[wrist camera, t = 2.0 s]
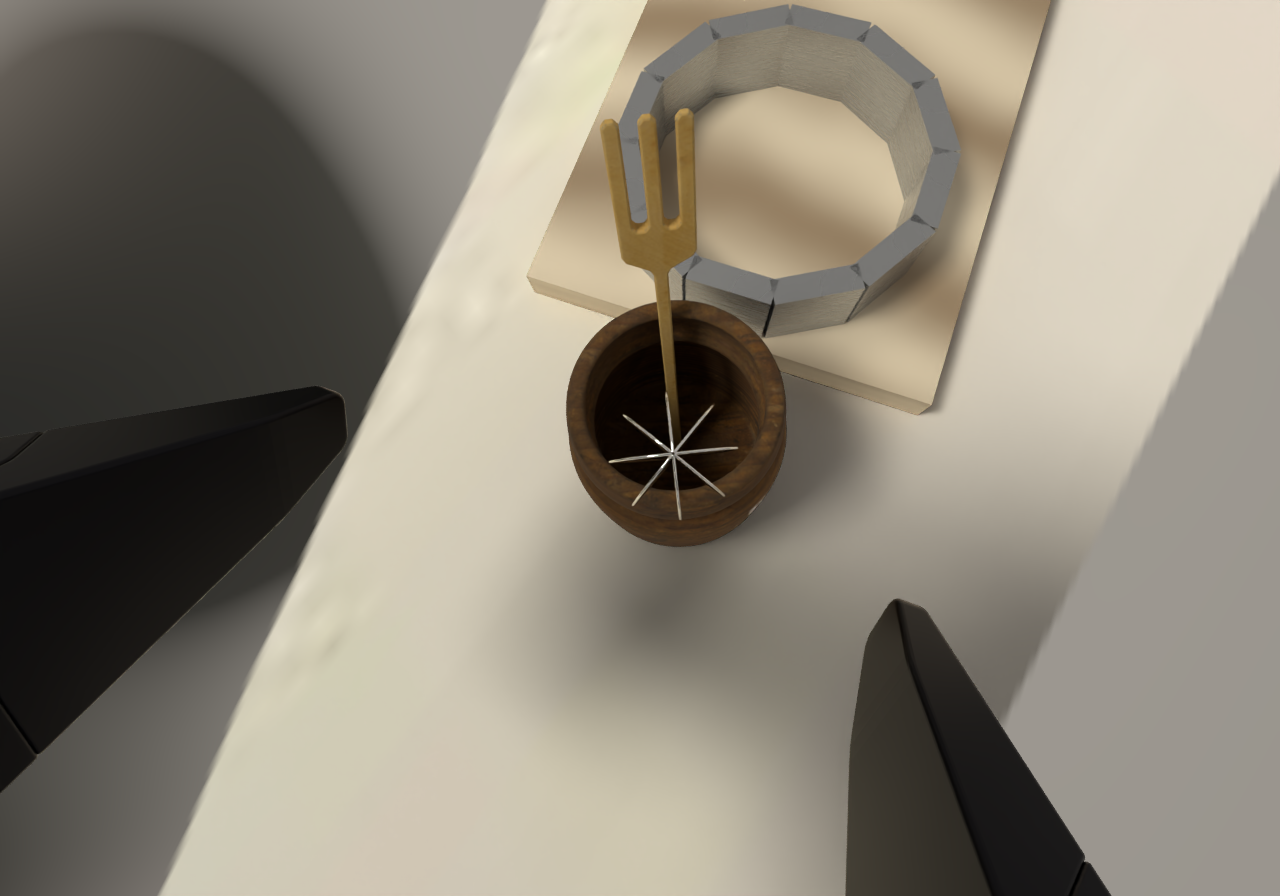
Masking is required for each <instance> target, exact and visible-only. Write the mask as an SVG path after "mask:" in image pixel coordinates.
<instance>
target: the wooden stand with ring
mask: <svg viewBox="0 0 1280 896" xmlns="http://www.w3.org/2000/svg"><path fill="white" fill-rule="evenodd" d="M1050 2H1051V0H648V1H647V4H646V6H645V8H644V10H643V13H642V15H641V17H640V20H639V22H638V24H637V26H636V29H635V31H634V33H633V35H632V38H631V40H630V42H629V44H628V47H627V49H626V51H625V54H624V56H623V58H622V60H621V63H620V65H619V67H618V69H617V72H616V74H615V76H614V78H613V81H612V83H611V85H610V87H609V90H608V92H607V94H606V97H605V99H604V101H603V103H602V106H601V108H600V110H599V112H598V115H597V117H596V119H595V121H594V124H593V126H592V128H591V131H590V133H589V135H588V137H587V140H586V142H585V144H584V146H583V149H582V151H581V153H580V155H579V158H578V160H577V162H576V164H575V167H574V169H573V171H572V174H571V176H570V178H569V180H568V183H567V185H566V187H565V189H564V192H563V194H562V196H561V198H560V201H559V203H558V205H557V208H556V210H555V212H554V214H553V217H552V219H551V221H550V223H549V226H548V228H547V230H546V232H545V235H544V237H543V239H542V241H541V244H540V246H539V248H538V251H537V253H536V255H535V257H534V260H533V262H532V264H531V266H530V269H529V271H528V273H527V275H526V276H527V278H528V280H529V282H530V284H531V286H532V288H533V290H534V292H537V293H540V294H543V295H546V296H549V297H552V298H555V299H558V300H561V301H565V302H568V303H571V304H574V305H577V306H580V307H583V308H586V309H589V310H593V311H596V312H599V313H602V314H605V315H608V316H611V317H614V318H616V317H618V316H620V315H621V314H623V313H625V312H627V311H629V310H632V309H634V308H636V307H639V306H642V305H645V304H649V303H653V302H657V300H656V291H655V282H654V275H653V274H652V273H651V272H650V271H648V270H645V269H641V268H638V267H635V266H631V265H628V264H626V263H625V262H624V261H623V260H622V259H621V253H620V247H619V241H618V235H617V229H616V223H615V217H614V211H613V205H612V199H611V193H610V187H609V181H608V175H607V169H606V163H605V157H604V151H603V145H602V139H601V133H600V125H601V123H602V122H603V120H605V119H613V120H614V121H616V122H617V123H618V126H619V133H620V140H621V147H622V154H623V162H624V169H625V176H626V183H627V190H628V197H629V205H630V212H631V219H632V221H634V222H635V223H642V222H645V220H646V219H647V208H646V199H645V190H644V181H643V172H642V163H641V153H640V144H639V135H638V126H637V121H638V119H639V118H640V116H641V115H642V114H648V113H649V114H651V115H652V116H653V117H655V119H656V126H657V138H658V151H659V163H660V175H661V188H662V200H663V213H664V217H665V218H667V219H673V218H676V217H677V216H678V215H679V195H678V174H677V153H676V132H675V115H676V114H677V112H678V111H679V110H680V109H684V108H688V109H690V110H691V111H692V112H693V114H694V135H695V178H696V221H697V250H696V252H695V254H694V255H693V256H692V257H690V258H688V259H687V260H685V261H683V262H681V263H680V264H678V265H676V266H675V267H673V268H671V270H670V271H669V273H668V276H669V288H670V300H687V301H695V302H700V303H705V304H708V305H712V306H715V307H717V308H720V309H722V310H724V311H726V312H728V313H730V314H732V315H734V316H736V317H737V318H739V319H740V320H741V321H743V322H744V323H745V324H747V325H748V326H749V327H750V328H751V329H752V330H754V331H755V332H756V333H757V335H758V336H759V337H760V338H761V339H762V340H763V342H764V343H765V344H766V345H767V347H768V349H769V350H770V352H771V353H772V355H773V357H774V359H775V361H776V363H777V365H778V368H779V370H780V371H782V372H785V373H788V374H791V375H794V376H798V377H801V378H804V379H807V380H810V381H813V382H816V383H819V384H822V385H826V386H829V387H832V388H835V389H838V390H841V391H844V392H847V393H850V394H853V395H857V396H860V397H863V398H866V399H869V400H872V401H875V402H878V403H881V404H885V405H888V406H891V407H894V408H897V409H900V410H903V411H906V412H909V413H912V414H916V415H919V414H920V413H921V412H923V411H924V410H925V409H927V408H928V407H929V406H931V405H932V402H933V398H934V395H935V392H936V388H937V385H938V382H939V378H940V375H941V371H942V368H943V365H944V361H945V358H946V354H947V351H948V348H949V344H950V341H951V338H952V334H953V331H954V327H955V324H956V321H957V317H958V314H959V310H960V307H961V304H962V300H963V297H964V294H965V290H966V287H967V283H968V280H969V277H970V273H971V270H972V266H973V263H974V260H975V256H976V253H977V249H978V246H979V243H980V239H981V236H982V233H983V229H984V226H985V222H986V219H987V216H988V212H989V209H990V205H991V202H992V199H993V195H994V192H995V189H996V185H997V182H998V178H999V175H1000V172H1001V168H1002V165H1003V161H1004V158H1005V155H1006V151H1007V148H1008V145H1009V141H1010V138H1011V134H1012V131H1013V128H1014V124H1015V121H1016V117H1017V114H1018V111H1019V107H1020V104H1021V101H1022V97H1023V94H1024V90H1025V87H1026V84H1027V80H1028V77H1029V73H1030V70H1031V67H1032V63H1033V60H1034V57H1035V53H1036V50H1037V46H1038V43H1039V40H1040V36H1041V33H1042V29H1043V26H1044V23H1045V19H1046V16H1047V13H1048V9H1049V6H1050Z"/></svg>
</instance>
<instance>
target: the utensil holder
mask: <svg viewBox="0 0 1280 896" xmlns="http://www.w3.org/2000/svg"><path fill="white" fill-rule="evenodd" d="M637 126H638V135H639V144H640V153H641V163H642V172H643V181H644V190H645V199H646V208H647V219H646V220H645V222H642V223H635V222H634V221H632V219H631V212H630V205H629V197H628V190H627V183H626V176H625V169H624V162H623V154H622V147H621V140H620V133H619V126H618V123H617V122H616V121H614V120H613V119H605V120H603V122H602V123H601V125H600V133H601V139H602V145H603V151H604V157H605V163H606V169H607V175H608V181H609V187H610V193H611V199H612V205H613V211H614V217H615V223H616V229H617V235H618V241H619V247H620V253H621V259H622V260H623V261H624V262H625V263H626V264H628V265H631V266H635V267H638V268H641V269H645V270H648V271H650V272H651V273H652V274H653V275H654V282H655V291H656V300H657V302H653V303H649V304H645V305H642V306H639V307H636V308H634V309H632V310H629V311H627V312H625V313H623V314H621V315H620V316H618V317H616V318H615V319H613V320H612V321H611V322H609V323H608V324H607V325H605V326H604V327H603V328H602V329H601V330H600V331H599V332H598V333H597V334H596V335H595V336H594V337H593V338H592V339H591V340H590V342H589V343H588V344H587V345H586V347H585V348H584V350H583V351H582V353H581V355H580V356H579V358H578V360H577V362H576V364H575V367H574V369H573V372H572V375H571V378H570V382H569V386H568V391H567V401H566V416H567V427H568V433H569V444H570V451H571V455H572V459H573V463H574V466H575V469H576V471H577V474H578V476H579V478H580V480H581V482H582V484H583V486H584V488H585V489H586V491H587V492H588V494H589V495H590V497H591V498H592V499H593V501H594V502H595V503H596V504H597V505H598V506H599V508H600V509H601V510H602V511H603V512H604V513H605V514H606V515H607V516H608V517H610V518H611V519H612V520H613V521H614V522H615V523H617V524H618V525H619V526H620V527H622V528H623V529H625V530H626V531H628V532H629V533H631V534H633V535H635V536H636V537H639V538H641V539H643V540H646V541H648V542H651V543H655V544H659V545H664V546H673V547H684V546H693V545H699V544H703V543H706V542H710V541H712V540H715V539H717V538H719V537H721V536H723V535H725V534H727V533H728V532H730V531H732V530H733V529H734V528H736V527H737V526H738V525H740V524H741V523H742V522H743V521H744V520H745V519H746V518H747V517H748V516H749V515H750V514H751V513H752V512H753V511H754V510H755V509H756V508H757V506H758V505H759V504H760V503H761V501H762V500H763V499H764V497H765V496H766V494H767V493H768V492H769V490H770V488H771V486H772V485H773V483H774V481H775V479H776V477H777V474H778V472H779V469H780V467H781V464H782V460H783V456H784V451H785V446H786V431H787V428H786V398H785V391H784V385H783V381H782V376H781V373H780V370H779V368H778V365H777V363H776V361H775V359H774V357H773V355H772V353H771V352H770V350H769V349H768V347H767V345H766V344H765V343H764V342H763V340H762V339H761V338H760V337H759V336H758V335H757V333H756V332H755V331H754V330H752V329H751V328H750V327H749V326H748V325H747V324H745V323H744V322H743V321H741V320H740V319H739V318H737V317H736V316H734V315H732V314H730V313H728V312H726V311H724V310H722V309H720V308H717V307H715V306H712V305H708V304H705V303H700V302H695V301H687V300H670V288H669V276H668V273H669V271H670V270H671V268H673V267H675V266H676V265H678V264H680V263H681V262H683V261H685V260H687V259H688V258H690V257H692V256H693V255H694V254H695V252H696V250H697V221H696V178H695V135H694V114H693V112H692V111H691V110H690V109H688V108H684V109H680V110H679V111H678V112H677V114H676V115H675V132H676V153H677V174H678V195H679V215H678V216H677V217H676V218H673V219H667V218H665V217H664V213H663V200H662V188H661V175H660V163H659V151H658V138H657V126H656V119H655V117H653V116H652V115H651V114H649V113H648V114H642V115H641V116H640V118H639V119H638V121H637Z"/></svg>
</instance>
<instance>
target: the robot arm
mask: <svg viewBox="0 0 1280 896" xmlns="http://www.w3.org/2000/svg"><path fill="white" fill-rule="evenodd" d="M347 436H348V434H347V422H346V411H345V402H344V399H343V397H342V395H340V394H339V393H338V392H335V391H332V390H330V389H327V388H324V387H321V386H311V387H304V388H298V389H292V390H286V391H280V392H274V393H268V394H263V395H257V396H250V397H244V398H238V399H232V400H226V401H220V402H214V403H208V404H202V405H196V406H190V407H184V408H178V409H172V410H166V411H160V412H153V413H147V414H141V415H136V416H129V417H123V418H117V419H111V420H106V421H99V422H93V423H87V424H82V425H75V426H69V427H63V428H58V429H51V430H47V431H45V432H44V433H42V432H39V431H38V432H32V433H26V434H20V435H14V436H8V437H2V438H0V794H1V793H2V792H3V791H4V790H5V789H6V788H7V787H8V786H9V785H10V784H11V783H12V782H13V781H14V780H15V779H16V778H17V777H18V776H19V775H20V774H21V773H22V772H23V771H25V770H26V769H27V767H28V766H30V765H31V764H32V763H33V762H34V760H36V759H37V757H38V755H37V754H41V753H43V752H44V751H45V750H46V748H48V747H49V746H50V745H51V744H52V743H53V742H54V741H55V740H56V739H57V738H58V737H59V736H60V735H61V734H62V733H63V732H64V731H65V730H66V729H67V728H68V727H69V726H70V725H72V724H73V723H74V722H75V721H76V720H77V719H78V718H79V717H80V716H81V715H82V714H83V713H84V712H85V711H86V710H87V709H88V708H89V707H90V706H91V705H92V704H93V703H94V702H95V701H96V700H97V699H98V698H99V697H100V696H101V695H102V694H103V693H104V692H106V691H107V690H108V689H109V688H110V687H111V686H112V685H113V684H114V683H115V682H116V681H117V680H118V679H119V678H120V677H121V676H122V675H123V674H124V673H125V672H126V671H127V670H128V669H129V668H130V667H131V666H132V665H133V664H134V663H136V662H137V661H138V660H139V659H140V658H141V657H142V656H143V655H144V654H145V653H146V652H147V651H148V650H149V649H150V648H151V647H152V646H153V645H154V644H155V643H156V642H157V641H158V640H159V639H160V638H161V637H162V636H163V635H164V634H165V633H166V632H168V631H169V630H170V629H171V627H173V626H174V625H175V624H176V623H177V622H178V621H179V620H180V619H181V618H182V617H183V616H184V615H185V614H186V613H187V612H188V611H189V610H190V609H191V608H192V607H193V606H194V605H195V604H196V603H197V602H198V601H199V600H201V599H202V598H203V597H204V596H205V595H206V594H207V593H208V592H209V591H210V590H211V589H212V588H213V587H214V586H215V585H216V584H217V583H218V582H219V581H220V580H221V579H222V578H223V577H224V576H225V575H226V574H227V573H228V572H229V571H230V570H232V568H234V567H235V566H236V565H237V564H238V563H239V562H240V561H241V560H242V559H243V558H244V557H245V556H246V555H247V554H248V553H249V552H250V551H251V550H252V549H253V548H254V547H255V546H256V545H257V544H258V543H259V542H260V541H261V540H262V539H264V538H265V537H266V536H267V535H268V534H269V532H271V531H272V530H273V529H274V528H275V527H276V526H277V525H278V524H279V523H280V522H281V521H282V520H283V519H284V518H285V517H286V516H287V514H288V513H289V512H290V511H291V510H292V509H293V508H294V506H295V505H296V504H297V503H298V502H299V501H300V500H301V498H302V497H303V496H304V495H305V493H306V492H307V491H308V490H309V489H310V488H311V486H312V485H313V484H314V483H315V482H316V480H317V479H318V478H319V477H320V475H322V473H323V472H324V471H325V470H326V468H327V467H328V466H329V465H330V464H331V462H332V461H333V460H334V459H335V458H336V456H337V455H338V454H339V453H340V452H341V451H342V449H343V448H344V446H345V444H346V441H347ZM1084 860H1085V855H1084V853H1083V852H1082V850H1081V849H1080V847H1079V846H1078V844H1077V842H1076V841H1075V839H1074V838H1073V836H1072V835H1071V833H1070V832H1069V830H1068V829H1067V827H1066V826H1065V824H1064V822H1063V821H1062V819H1061V818H1060V816H1059V815H1058V813H1057V812H1056V810H1055V808H1054V807H1053V805H1052V804H1051V802H1050V801H1049V799H1048V798H1047V796H1046V795H1045V793H1044V791H1043V790H1042V788H1041V787H1040V785H1039V784H1038V782H1037V781H1036V779H1035V778H1034V776H1033V775H1032V773H1031V771H1030V770H1029V768H1028V767H1027V765H1026V764H1025V762H1024V761H1023V759H1022V757H1021V756H1020V754H1019V753H1018V752H1017V750H1016V748H1015V747H1014V745H1013V744H1012V742H1011V741H1010V739H1009V738H1008V736H1007V734H1006V733H1005V731H1004V730H1003V728H1002V727H1001V725H1000V724H999V722H998V720H997V719H996V717H995V716H994V714H993V713H992V711H991V710H990V708H989V707H988V705H987V703H986V702H985V700H984V699H983V697H982V696H981V694H980V693H979V691H978V690H977V688H976V686H975V685H974V683H973V682H972V680H971V679H970V677H969V676H968V674H967V673H966V671H965V669H964V668H963V666H962V665H961V663H960V662H959V660H958V659H957V657H956V656H955V654H954V652H953V651H952V649H951V648H950V646H949V645H948V643H947V642H946V640H945V639H944V637H943V635H942V634H941V632H940V631H939V629H938V628H937V626H936V625H935V623H934V622H933V620H932V618H931V617H930V615H929V614H928V612H927V611H926V610H925V609H924V608H922V607H920V606H918V605H915V604H912V603H910V602H907V601H904V600H901V599H894V600H893V601H892V602H890V604H889V605H888V606H887V608H886V609H885V611H884V613H883V614H882V616H881V617H880V619H879V620H878V622H877V623H876V625H875V627H874V628H873V630H872V631H871V633H870V635H869V637H868V639H867V642H866V646H865V650H864V657H863V664H862V670H861V677H860V683H859V690H858V696H857V703H856V709H855V716H854V722H853V729H852V737H851V744H850V759H849V790H848V825H847V859H846V894H845V896H1111V894H1110V893H1109V891H1108V890H1107V888H1106V887H1105V885H1104V884H1103V882H1102V881H1101V879H1100V878H1099V876H1098V875H1097V873H1096V871H1095V870H1094V868H1093V867H1092V865H1091V864H1090V863H1088V862H1084Z"/></svg>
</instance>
